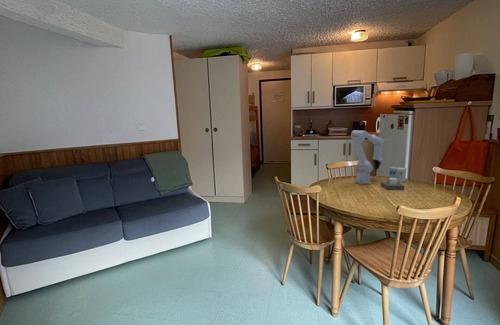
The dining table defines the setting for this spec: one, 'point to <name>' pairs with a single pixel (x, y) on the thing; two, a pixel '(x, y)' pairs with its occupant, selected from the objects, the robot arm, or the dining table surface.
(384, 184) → the socket
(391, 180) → the plug
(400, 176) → the light bulb box
